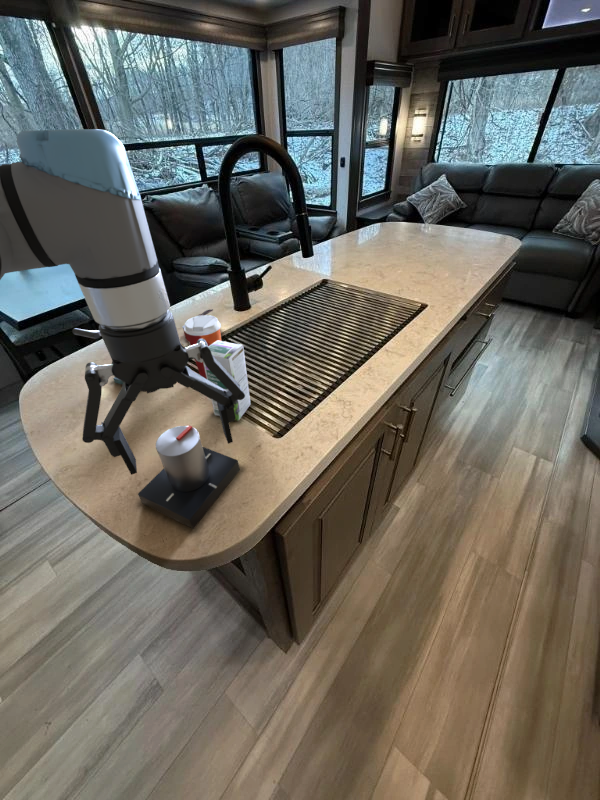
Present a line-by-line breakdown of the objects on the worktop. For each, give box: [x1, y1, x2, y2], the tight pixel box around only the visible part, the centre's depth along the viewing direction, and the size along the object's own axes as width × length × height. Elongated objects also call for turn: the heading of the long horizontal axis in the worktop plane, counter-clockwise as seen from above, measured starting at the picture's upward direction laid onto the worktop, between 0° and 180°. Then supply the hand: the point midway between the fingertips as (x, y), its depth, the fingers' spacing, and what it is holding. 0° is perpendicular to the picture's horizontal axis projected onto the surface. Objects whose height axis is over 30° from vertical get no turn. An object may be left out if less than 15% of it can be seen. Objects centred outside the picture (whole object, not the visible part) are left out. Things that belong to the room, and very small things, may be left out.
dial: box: [155, 425, 209, 492], centre depth 49 cm, size 6×6×8 cm
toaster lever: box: [72, 327, 102, 340], centre depth 68 cm, size 12×6×2 cm, turn 160°
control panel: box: [137, 446, 241, 530], centre depth 53 cm, size 12×10×3 cm
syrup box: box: [203, 340, 251, 422], centre depth 64 cm, size 6×6×14 cm
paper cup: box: [183, 314, 222, 379], centre depth 74 cm, size 8×8×14 cm
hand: (183, 451), depth 49 cm, fingers open, 13 cm apart
